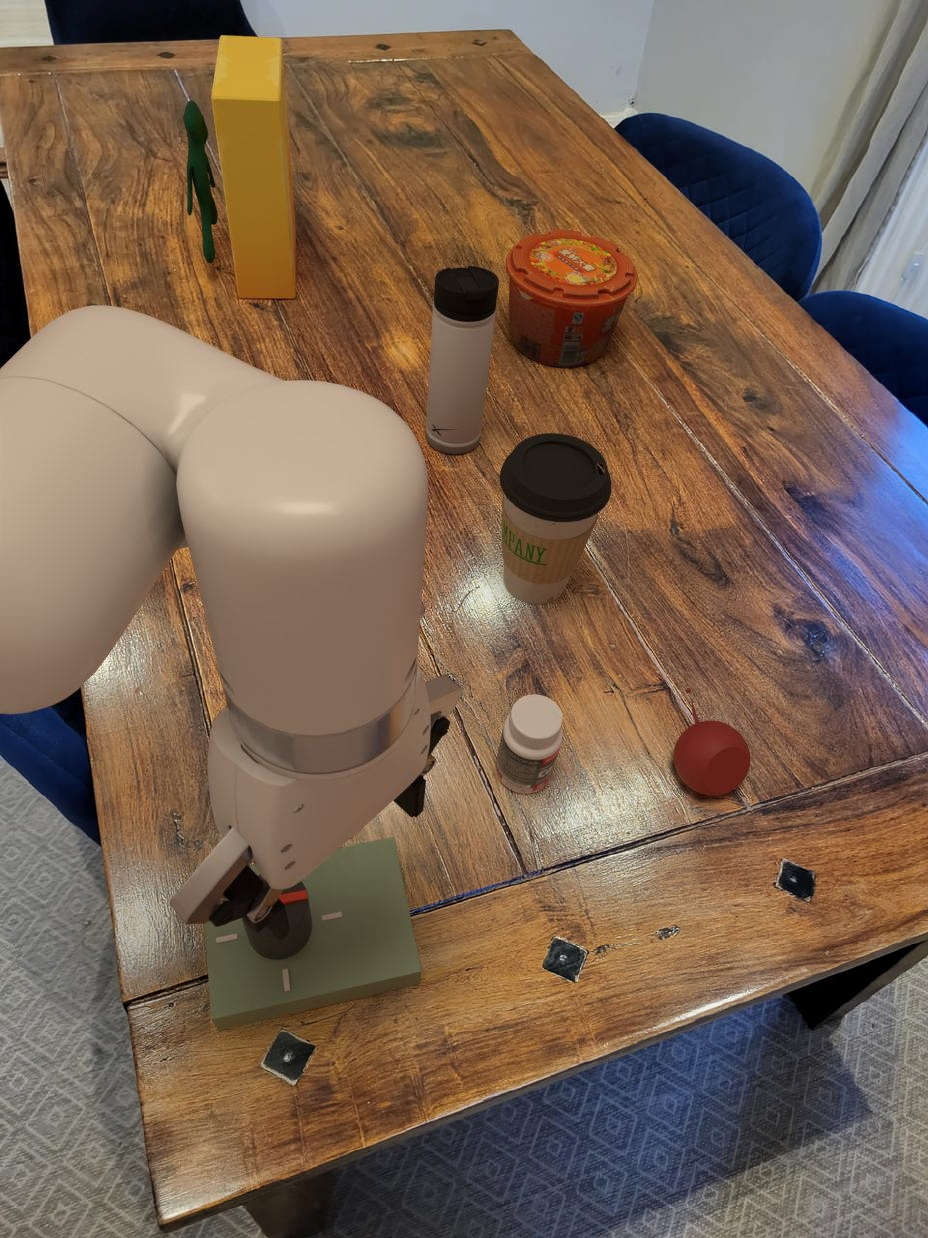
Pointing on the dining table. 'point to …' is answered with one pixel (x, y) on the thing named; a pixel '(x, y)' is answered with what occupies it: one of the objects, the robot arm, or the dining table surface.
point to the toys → (248, 166)
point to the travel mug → (460, 357)
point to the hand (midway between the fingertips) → (336, 855)
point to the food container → (566, 296)
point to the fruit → (711, 756)
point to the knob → (298, 923)
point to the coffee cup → (549, 512)
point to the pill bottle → (529, 744)
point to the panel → (322, 944)
